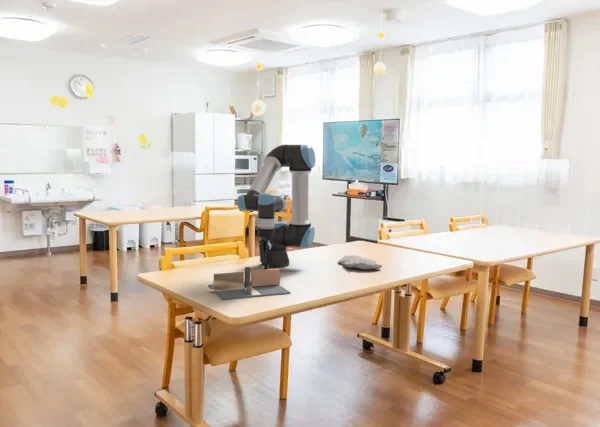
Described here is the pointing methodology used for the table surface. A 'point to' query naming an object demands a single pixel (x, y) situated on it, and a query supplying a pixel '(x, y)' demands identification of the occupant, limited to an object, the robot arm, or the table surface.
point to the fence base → (232, 280)
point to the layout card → (243, 292)
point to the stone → (359, 262)
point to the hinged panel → (265, 277)
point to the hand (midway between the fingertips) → (264, 278)
